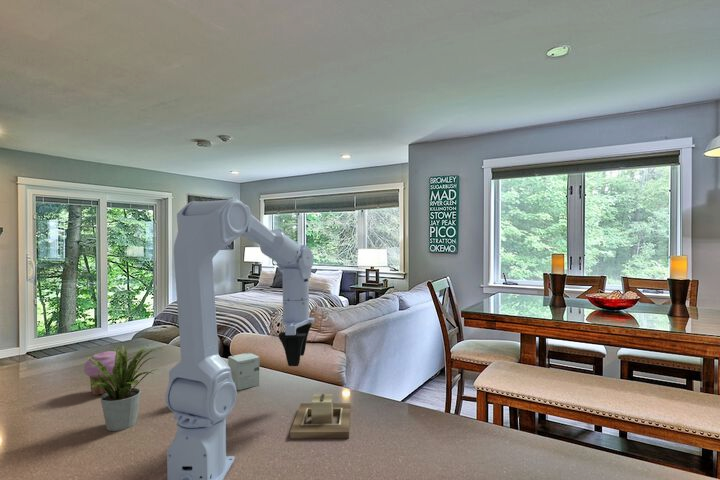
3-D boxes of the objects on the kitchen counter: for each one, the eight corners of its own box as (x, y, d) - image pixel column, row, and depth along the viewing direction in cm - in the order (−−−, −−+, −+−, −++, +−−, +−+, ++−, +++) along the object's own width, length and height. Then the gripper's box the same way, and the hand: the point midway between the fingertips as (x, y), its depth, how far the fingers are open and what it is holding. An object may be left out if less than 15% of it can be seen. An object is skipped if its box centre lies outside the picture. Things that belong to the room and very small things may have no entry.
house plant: (180, 419, 83) (179, 341, 83) (111, 449, 71) (110, 358, 71) (140, 405, 90) (140, 333, 90) (71, 431, 78) (70, 348, 78)
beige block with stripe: (331, 427, 79) (331, 401, 79) (311, 427, 79) (311, 401, 79) (333, 418, 83) (332, 393, 83) (313, 418, 83) (313, 393, 83)
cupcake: (79, 400, 93) (78, 358, 93) (91, 387, 102) (90, 348, 102) (122, 395, 96) (121, 354, 96) (130, 383, 104) (130, 345, 104)
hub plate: (348, 438, 74) (348, 431, 74) (290, 438, 75) (290, 431, 75) (350, 408, 87) (350, 402, 87) (300, 408, 88) (300, 403, 88)
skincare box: (237, 391, 98) (237, 361, 98) (227, 384, 103) (227, 356, 103) (260, 385, 102) (259, 356, 102) (249, 379, 107) (249, 351, 107)
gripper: (309, 304, 81) (310, 370, 81) (317, 294, 96) (318, 350, 96) (274, 304, 81) (275, 371, 81) (288, 294, 96) (288, 351, 96)
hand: (296, 360), depth 89 cm, fingers open, 7 cm apart
